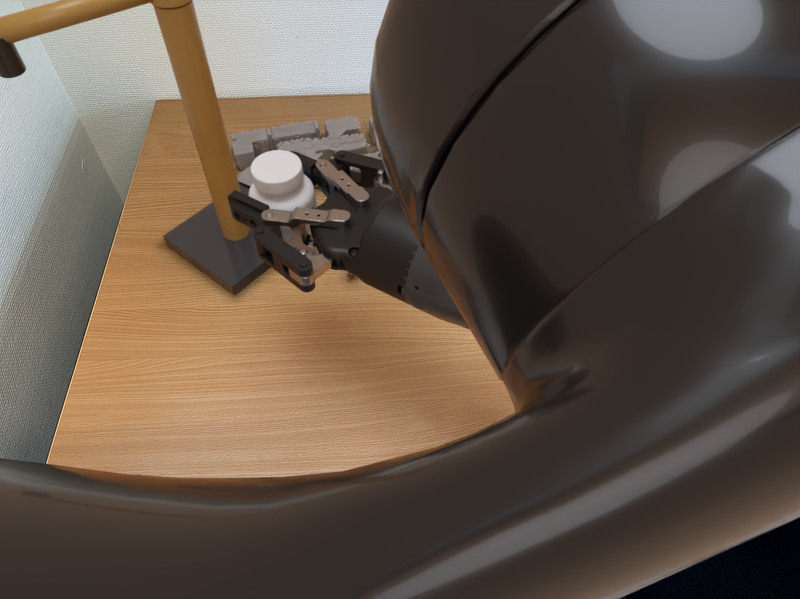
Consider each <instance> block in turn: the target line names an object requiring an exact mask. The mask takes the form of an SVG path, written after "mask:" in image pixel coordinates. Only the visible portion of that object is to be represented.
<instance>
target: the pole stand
mask: <svg viewBox="0 0 800 599" xmlns="http://www.w3.org/2000/svg"><path fill="white" fill-rule="evenodd" d="M239 186H240V190H241V193H243V194H245V195H247V196H249V190H250V187H247V185H246V186H245V184H243V183H242V182H239ZM252 231H253V229H252V228H250V232H249V234H248V236H247V237H245V238H244V239H241V240H238V241H231V240H228V239H226V238H225V237H224V236H223V233H222V230H221V227H220V223H219V220H218V217H217V214H216V210H215V207H214V204H213V201H212V202H210V204H208V205H206V206H205V207H203V208H202V209H201V210H199V211H197V212H195V213H194V214H193V215H191V216H190V217H188V218H187V219H185V220H184V221H183V222H181V223H180V224H178V225H177V226H175V227H174V228H172V229H171V230H169V231H168V232H166V233H165V234H164V235H162V237H163V240H164V242H165V244H166V245H167V246H168V247H169V248H171V250H173V251H174V252H176V253H177V254H178V255H180V256H181V257H183V258H184V259H185V260H187V261H188V262H189V263H191V264H192V266H194V267H196V268H197V269H199V270H200V271H201V272H202V273H204V274H205V275H206V276H208V277H209V278H211V279H212V280H213V281H215V283H217V284H218V285H220V286H221V287H223V288H224V289H226V290H227V291H228V292H229V293H231V294H232V295H233V296H235V295H236V294H238V293H239V292H241V290H243V289H245V288H246V287H247V286H248V285H249V284H251V283H252V282H253V281H255V279H257V278H258V277H260V276H261V275H262V274H263V273H264V272H266V271H267V270H269V269H270V268H272V267H271V266H269V265H268V264H267V263H265V262H264V261H263V260H262V259H260V258H259V257H258V253H257V247H256V243H255V240H254V238H253V234H252Z"/></svg>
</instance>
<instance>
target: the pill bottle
mask: <svg viewBox="0 0 800 599" xmlns="http://www.w3.org/2000/svg"><path fill="white" fill-rule="evenodd" d="M251 175H252V181H253V183H252V185H251V186H249V189H250V190H249V197H252V198H254V199H256V200H258V201H260V202H262V203H265V204H267V205H269V208H270V209H276V210H285V211H293V210H294V209H295V208H297V207H300V208H309V209H315V208H316V207H317V206H318V203H317V196H316V190H315V187H314V186H313V183H312V182H311V180H310V179H309V178H308V177H307V176H306V175H304V173H303V168H302V163H301V160H300V159H299V157H298V156H297V155H295V154H294V153H292V152H289V151H285V150H273V151H268V152H265V153H263V154H261V155H259V156H258V157H256V156H255V159H254V161H253V162H252V164H251ZM305 225H306V231H307V233H308V234H310V235H311V230H310V225H307V224H305ZM280 228H287V229H291V228H290V227H287V226H280ZM289 245H291V246H292V247H293V248H295V247H294V246H293V245H292V244H289ZM295 249H296V250H297V251H299V252H300V250H299V249H297V248H295ZM306 252H307V253H309V254H311V255H319V252H315V251H307V250H306Z"/></svg>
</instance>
